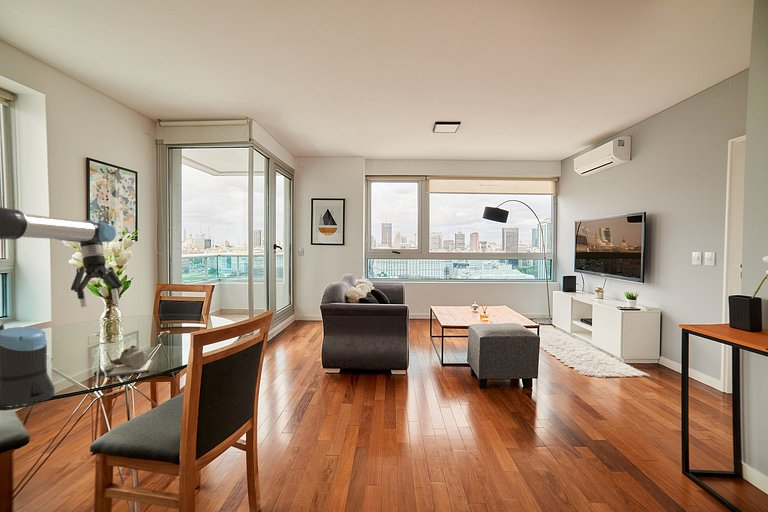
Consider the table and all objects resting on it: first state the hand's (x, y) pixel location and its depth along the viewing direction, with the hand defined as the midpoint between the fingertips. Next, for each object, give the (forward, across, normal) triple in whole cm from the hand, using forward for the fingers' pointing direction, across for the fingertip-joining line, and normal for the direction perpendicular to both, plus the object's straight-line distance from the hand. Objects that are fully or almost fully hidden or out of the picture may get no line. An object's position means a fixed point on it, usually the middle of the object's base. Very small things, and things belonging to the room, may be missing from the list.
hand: (101, 305), depth 157 cm
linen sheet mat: (+29, +1, +12) cm, 31 cm away
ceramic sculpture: (+28, 0, +11) cm, 30 cm away
